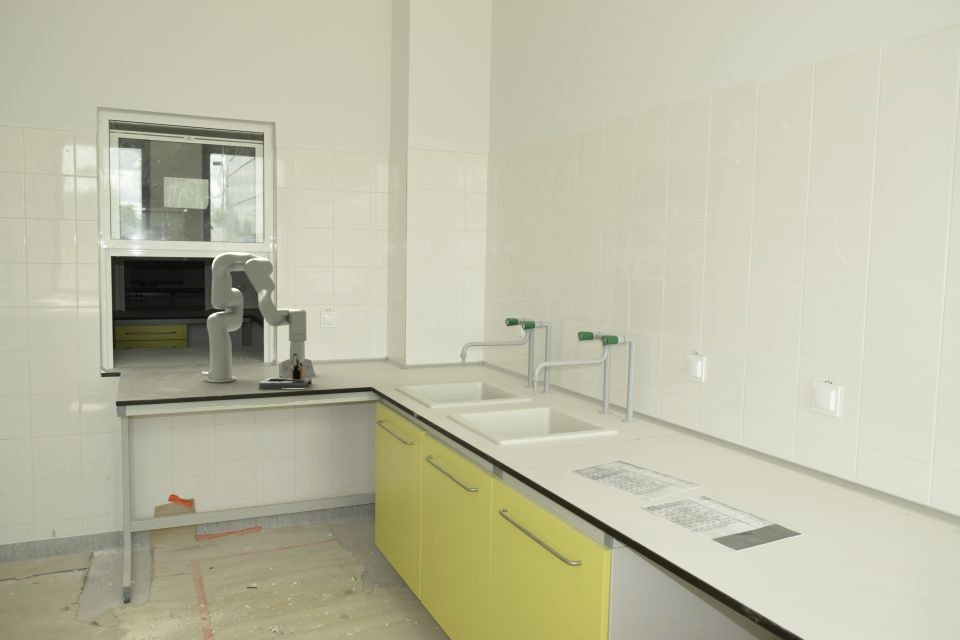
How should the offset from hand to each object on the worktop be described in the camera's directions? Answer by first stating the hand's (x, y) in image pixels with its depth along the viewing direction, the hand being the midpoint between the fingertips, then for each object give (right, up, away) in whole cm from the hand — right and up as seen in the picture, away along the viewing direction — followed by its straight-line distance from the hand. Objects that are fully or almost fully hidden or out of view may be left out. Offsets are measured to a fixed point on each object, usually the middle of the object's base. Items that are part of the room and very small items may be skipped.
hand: (298, 377), depth 320 cm
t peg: (0, -4, 0) cm, 4 cm away
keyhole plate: (-5, -4, 0) cm, 7 cm away
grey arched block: (-7, -2, +26) cm, 27 cm away
